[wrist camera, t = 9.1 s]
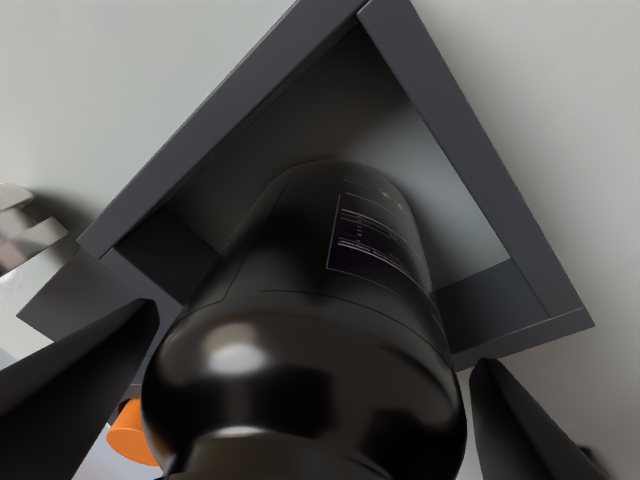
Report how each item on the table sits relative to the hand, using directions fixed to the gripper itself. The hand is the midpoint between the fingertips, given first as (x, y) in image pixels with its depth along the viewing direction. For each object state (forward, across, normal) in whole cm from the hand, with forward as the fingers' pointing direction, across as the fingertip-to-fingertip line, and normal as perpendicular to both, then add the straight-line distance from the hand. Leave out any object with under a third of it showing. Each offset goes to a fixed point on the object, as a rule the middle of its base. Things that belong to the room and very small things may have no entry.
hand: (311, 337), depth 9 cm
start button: (+3, +8, +11) cm, 14 cm away
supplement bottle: (+6, 0, 0) cm, 6 cm away
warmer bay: (+6, 0, 0) cm, 6 cm away
